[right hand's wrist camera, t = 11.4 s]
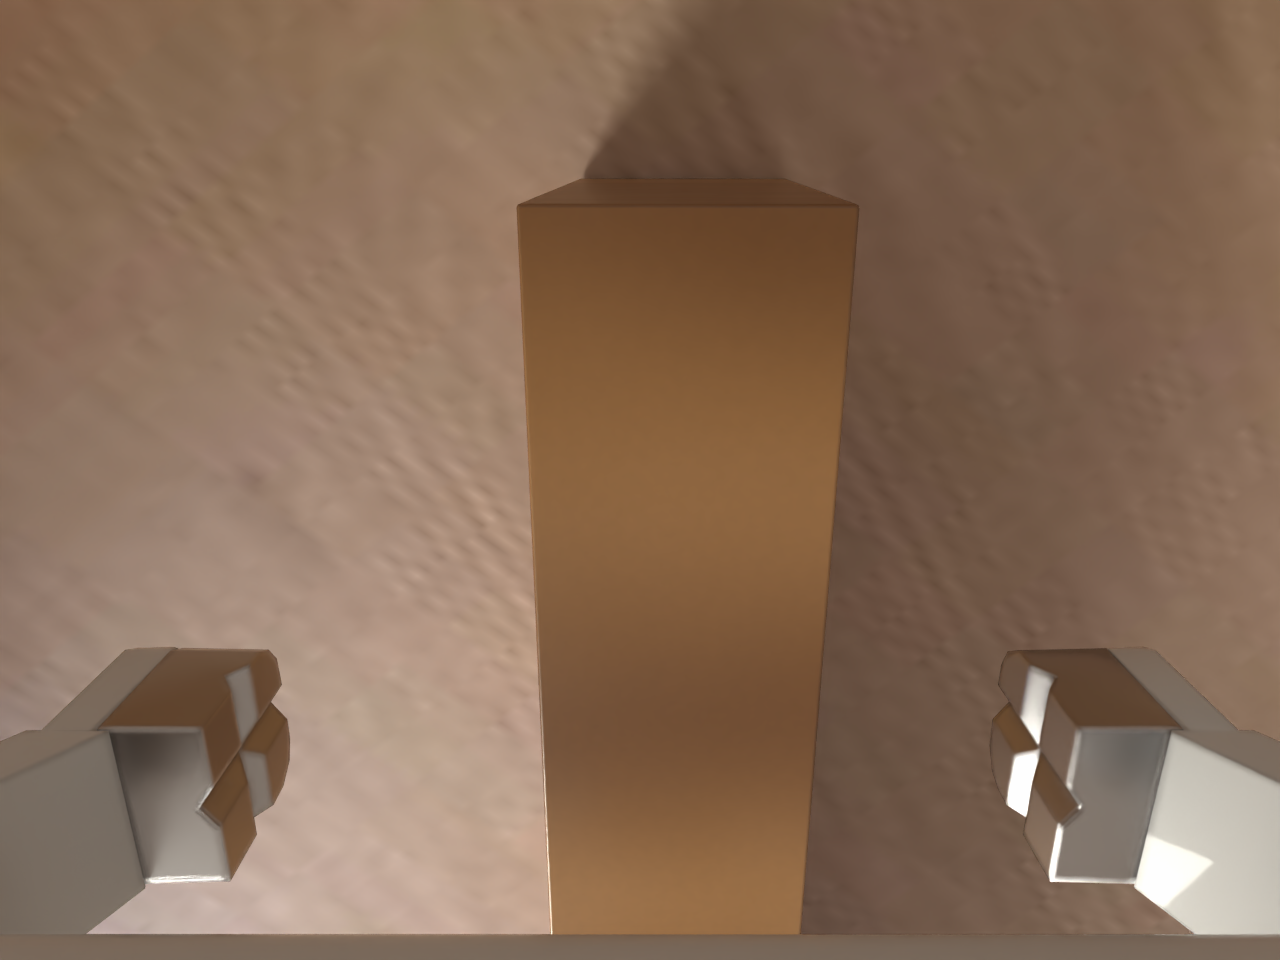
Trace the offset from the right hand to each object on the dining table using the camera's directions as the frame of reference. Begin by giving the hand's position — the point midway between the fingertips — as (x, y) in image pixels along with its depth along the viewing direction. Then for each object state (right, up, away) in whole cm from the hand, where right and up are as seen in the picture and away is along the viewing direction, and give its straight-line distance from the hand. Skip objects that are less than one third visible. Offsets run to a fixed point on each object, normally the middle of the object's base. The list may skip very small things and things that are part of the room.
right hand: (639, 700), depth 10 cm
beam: (+1, -16, +20) cm, 25 cm away
